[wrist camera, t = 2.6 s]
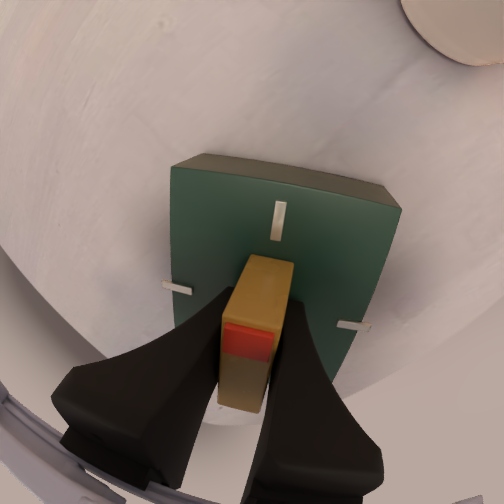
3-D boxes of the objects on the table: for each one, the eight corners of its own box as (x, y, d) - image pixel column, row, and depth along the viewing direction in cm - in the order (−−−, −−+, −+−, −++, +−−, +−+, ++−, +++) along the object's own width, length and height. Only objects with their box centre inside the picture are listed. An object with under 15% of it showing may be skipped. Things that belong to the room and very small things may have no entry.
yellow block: (274, 350, 12) (257, 420, 9) (239, 342, 13) (214, 409, 9) (295, 261, 10) (280, 334, 7) (250, 252, 10) (218, 320, 7)
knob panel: (334, 354, 16) (333, 397, 13) (190, 322, 17) (169, 359, 14) (392, 188, 11) (414, 213, 8) (193, 152, 12) (158, 166, 10)
